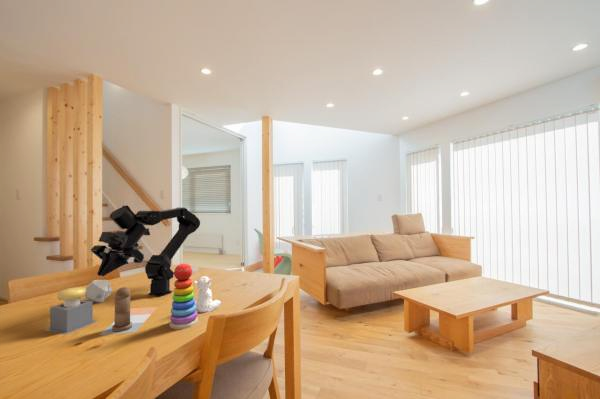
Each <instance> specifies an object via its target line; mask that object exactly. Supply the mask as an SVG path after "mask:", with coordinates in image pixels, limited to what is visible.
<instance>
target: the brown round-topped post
mask: <svg viewBox="0 0 600 399" xmlns="http://www.w3.org/2000/svg"><path fill="white" fill-rule="evenodd" d="M114 296H115V297H114V322H115V323H114V325H113V326H112V331H113V332H122V331H126V330H129V329H130V328H132V322H130V309H131V291H130V289H129V288H128V287H125V286H124V287H119V288H118V289H117V290H116V291H115V294H114Z"/></svg>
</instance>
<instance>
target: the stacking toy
mask: <svg viewBox="0 0 600 399" xmlns="http://www.w3.org/2000/svg"><path fill="white" fill-rule="evenodd" d="M173 272H174V275H173V277H174V278H175V279H176V280H175V281H174V282H173V286H174V289H173V293H174V294H173V295H172V300H173V301H172V302H171V306H172V307H171V309H170V313H171V316H170V322H169V324H168V326H169V327H170V328H171V329H174V330H183V329H188V328H189V329H190V328H192V327H194V326H195V325H197V324H198V323H199V318H198V313H199V312H197V311H196V306H195V302H196V299H195V298H194V297H195V293H194V286H193V280H192V279H191V276H192V274H193V269H192V266H191V265H190V264H188V263H179V264H178V265H177V266H176V267H175V268H174V271H173Z"/></svg>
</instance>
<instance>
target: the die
mask: <svg viewBox="0 0 600 399" xmlns="http://www.w3.org/2000/svg"><path fill="white" fill-rule="evenodd" d="M109 282H110V281H109V280H107V279H94V280H92V282H90V283H89V284H88V285H87V286H86V295H84V297H85V299H86V301H92V302H93V304H94V303H95V302H96V303H99V304H101V303H103V302H104V301H105V300H106V299H107V298H108V297H109V296H110V295H111V294H112V293H113V292H114V291H113V288H112V286H111V284H110V283H109ZM96 303H95V304H96Z"/></svg>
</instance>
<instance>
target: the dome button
mask: <svg viewBox="0 0 600 399" xmlns="http://www.w3.org/2000/svg"><path fill="white" fill-rule="evenodd" d="M86 287H87V286H86ZM86 287H85V286H75V287H69V288H64V289H60V290H58V292H57V299H58V300H59V301H63V303H64V307H66V308H70V307H74V306H77V305H80V300H81V298H82V297H85V295H86Z"/></svg>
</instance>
